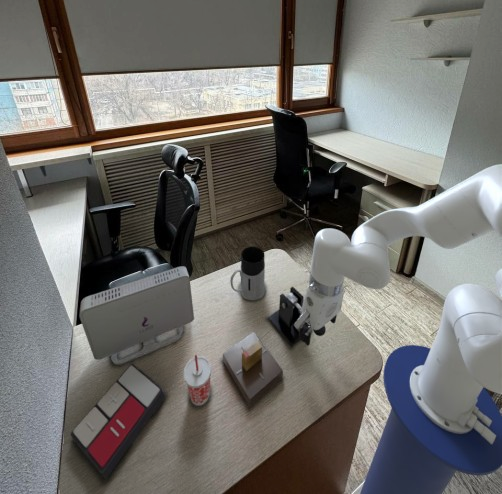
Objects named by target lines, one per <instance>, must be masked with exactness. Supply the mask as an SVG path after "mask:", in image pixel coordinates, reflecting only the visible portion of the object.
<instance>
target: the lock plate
mask: <svg viewBox="0 0 502 494" xmlns="http://www.w3.org/2000/svg"><path fill="white" fill-rule="evenodd" d="M257 341H258V342H259V343H260V344H261V346H262V359H260V360H259V361H258V362H257V363H256V364H254V365H253V366H252V367H251V368H250V369H248V370H247V371H245V369H244V368H243V366H242V353H243V352H244V351H245V350H247V349H248V348H249V347H251V346H252V345H253V344H255V343H256V342H257ZM266 347H267V346H265V344H264V343H263V342H262V341H261V339H260V338H259V336H258V335H257V334H256V332H255V331H252V332H251V333H249V334H248V335H247V336H245V337H244V338H242V339H241V340H240V341H238V342H237V343H236V344H234V345H232V347H230V348H229V349H227V350H226V351H224V352H223V353H222V362H223V364H224V365H225V367H226V369H227V370H228V372H229V374H230V375H231V377H232V379H233V381H234V382H235V384H236V386H237V387H238V389H239V391H240V393H241V395H242V396H243V398H244V400H245V401H246V404H247V405H248V407H252V406H253V405H254V404H255V403H256V402H257V401H258V400H259V399H261V398H262V397H263V396H264V395H265V394H267V392H269V390H270V389H272V388H273V387H274V386H275V385H276V384H277V383H278V382H279V381H280V380H282V379H283V375H284V373H283V372H284V370H283V369H282V367H281V366H280V364H278V362H277V361H276V359H275V358H274V357H273V355H272V354H271V352H270V351H269V349H267V348H266Z"/></svg>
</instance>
